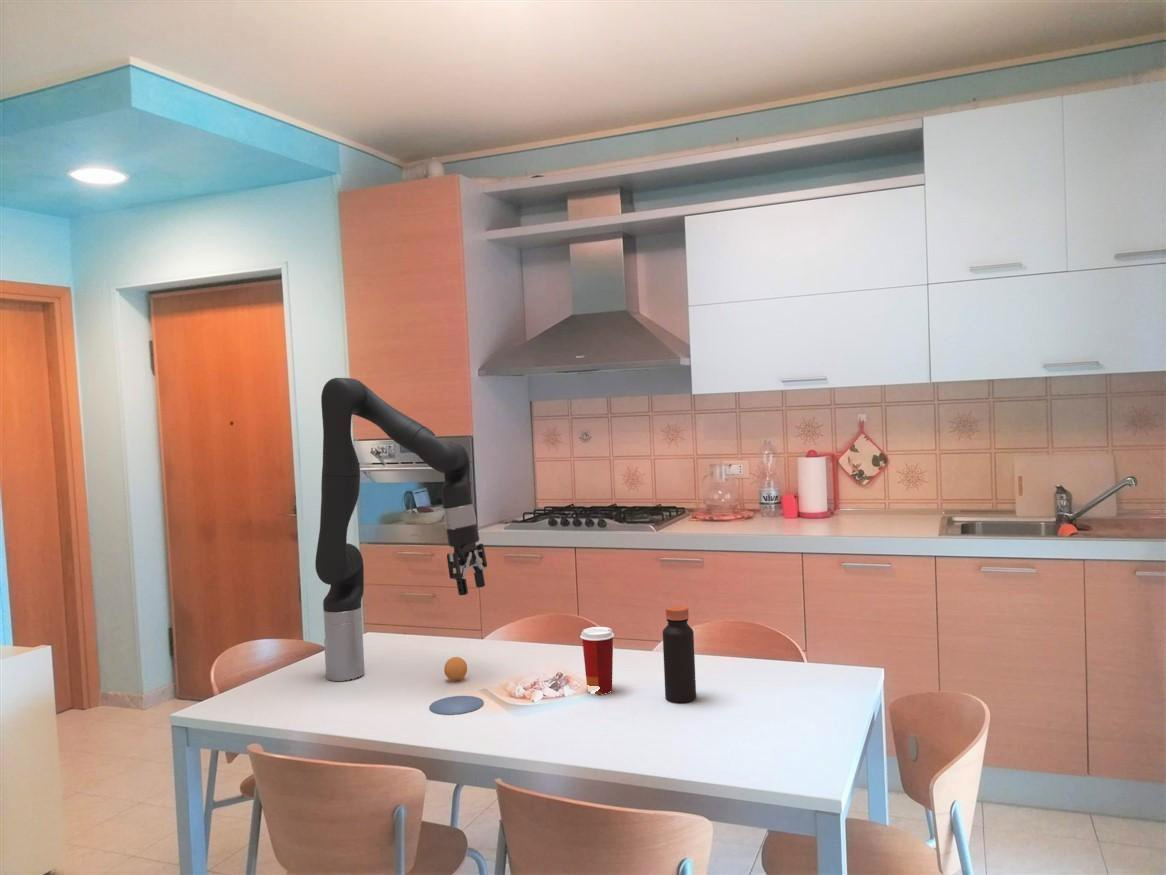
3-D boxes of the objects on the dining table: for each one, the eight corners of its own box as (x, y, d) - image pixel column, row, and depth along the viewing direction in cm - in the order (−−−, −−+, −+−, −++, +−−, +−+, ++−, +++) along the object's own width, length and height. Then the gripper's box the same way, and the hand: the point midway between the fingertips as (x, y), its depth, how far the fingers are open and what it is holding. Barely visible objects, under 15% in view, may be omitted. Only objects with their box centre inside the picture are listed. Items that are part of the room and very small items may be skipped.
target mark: (418, 707, 191) (418, 706, 191) (461, 693, 200) (461, 692, 200) (451, 718, 183) (451, 717, 183) (494, 703, 191) (494, 702, 191)
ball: (440, 680, 210) (439, 658, 210) (458, 675, 214) (457, 652, 214) (454, 685, 206) (452, 662, 206) (472, 679, 210) (471, 656, 210)
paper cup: (617, 685, 200) (614, 625, 200) (615, 696, 193) (612, 634, 192) (584, 686, 201) (581, 626, 201) (580, 696, 193) (578, 634, 193)
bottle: (695, 704, 185) (691, 611, 185) (663, 703, 187) (659, 611, 186) (697, 693, 192) (693, 604, 191) (667, 693, 193) (663, 604, 193)
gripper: (462, 522, 216) (473, 586, 216) (432, 531, 203) (443, 599, 203) (488, 518, 214) (499, 583, 213) (459, 527, 200) (471, 596, 200)
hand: (472, 590), depth 208 cm, fingers open, 8 cm apart
